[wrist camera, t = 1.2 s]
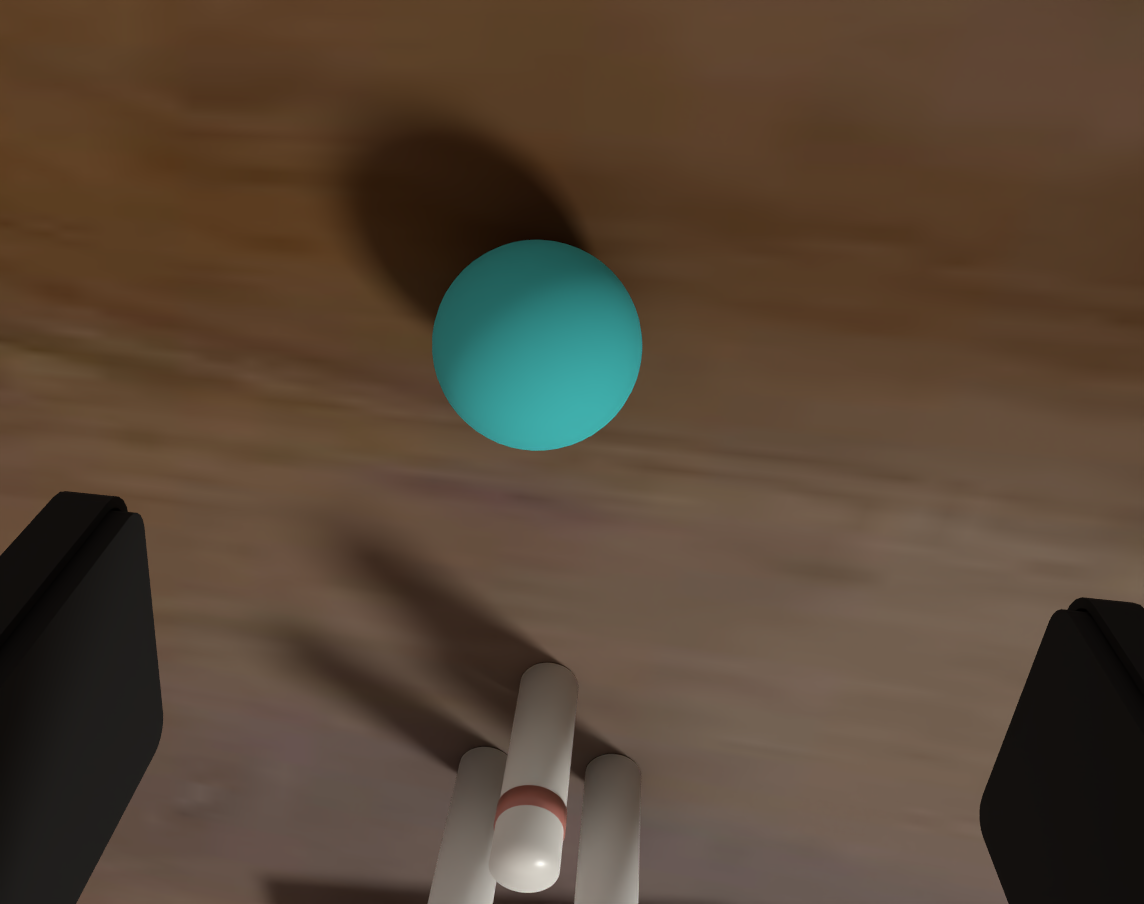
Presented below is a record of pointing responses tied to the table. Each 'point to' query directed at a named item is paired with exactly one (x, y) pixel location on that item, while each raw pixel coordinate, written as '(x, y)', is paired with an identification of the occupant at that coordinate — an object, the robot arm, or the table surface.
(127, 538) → the robot arm
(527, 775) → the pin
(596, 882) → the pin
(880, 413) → the table surface
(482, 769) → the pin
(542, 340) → the ball
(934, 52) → the table surface
